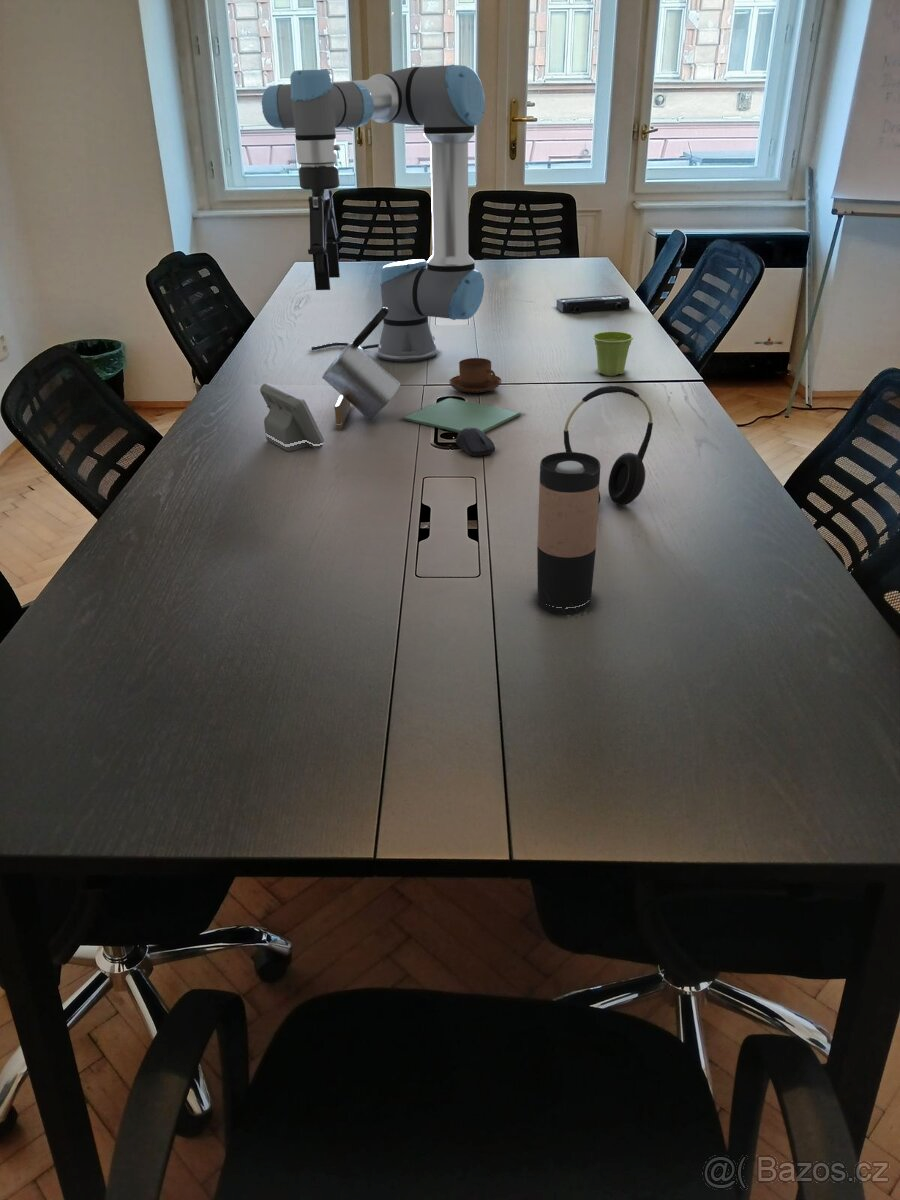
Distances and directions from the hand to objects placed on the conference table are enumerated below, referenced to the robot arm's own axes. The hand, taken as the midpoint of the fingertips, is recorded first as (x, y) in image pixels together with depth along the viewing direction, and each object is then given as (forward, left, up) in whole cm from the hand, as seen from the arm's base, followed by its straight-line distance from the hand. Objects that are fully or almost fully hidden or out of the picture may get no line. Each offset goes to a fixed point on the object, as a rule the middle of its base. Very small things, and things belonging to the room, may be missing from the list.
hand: (328, 283), depth 176 cm
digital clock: (+3, -17, -28) cm, 32 cm away
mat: (+23, +13, -27) cm, 38 cm away
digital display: (-5, +118, -28) cm, 122 cm away
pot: (+5, +2, -27) cm, 28 cm away
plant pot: (+33, +59, -28) cm, 73 cm away
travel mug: (+80, -41, -28) cm, 94 cm away
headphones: (+69, -10, -28) cm, 75 cm away
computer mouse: (+36, -1, -28) cm, 46 cm away
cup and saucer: (+13, +31, -28) cm, 44 cm away
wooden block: (+2, -1, -27) cm, 27 cm away
